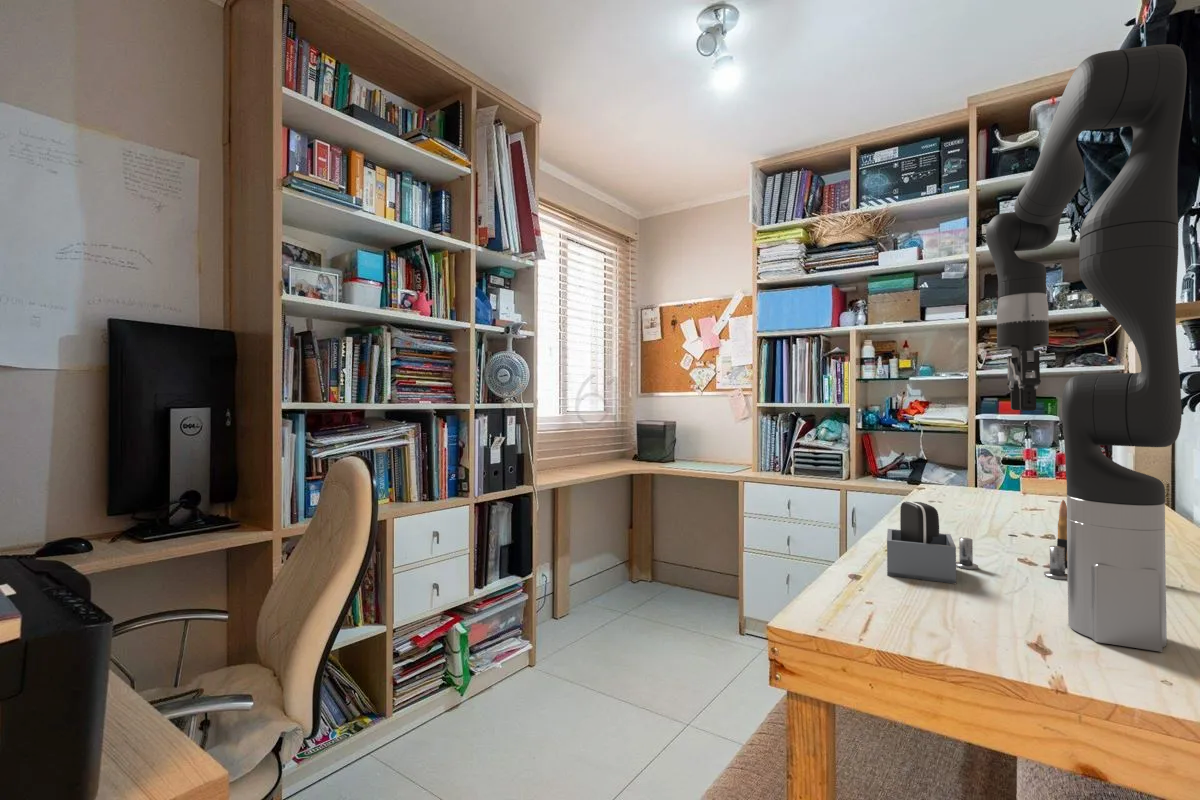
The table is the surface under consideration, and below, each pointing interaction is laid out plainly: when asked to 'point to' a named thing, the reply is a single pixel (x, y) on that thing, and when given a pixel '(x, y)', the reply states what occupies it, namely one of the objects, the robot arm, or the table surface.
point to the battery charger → (918, 522)
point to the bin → (921, 558)
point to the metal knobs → (1055, 572)
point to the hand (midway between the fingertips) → (1023, 410)
